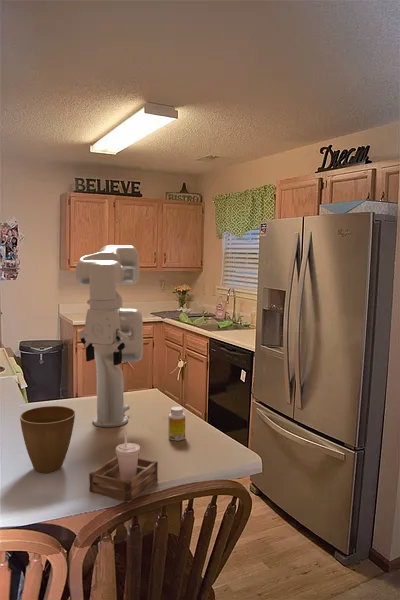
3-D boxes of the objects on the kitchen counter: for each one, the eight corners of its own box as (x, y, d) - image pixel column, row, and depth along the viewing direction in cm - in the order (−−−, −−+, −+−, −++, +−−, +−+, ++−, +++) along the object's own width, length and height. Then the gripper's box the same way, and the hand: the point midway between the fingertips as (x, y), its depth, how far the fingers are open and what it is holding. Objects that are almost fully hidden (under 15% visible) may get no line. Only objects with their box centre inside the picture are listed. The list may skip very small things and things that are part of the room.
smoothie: (116, 477, 129) (116, 427, 128) (140, 476, 130) (140, 426, 129) (114, 489, 123) (114, 436, 122) (140, 488, 124) (139, 435, 122)
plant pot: (23, 484, 127) (21, 425, 125) (19, 462, 140) (18, 408, 139) (80, 474, 133) (79, 418, 131) (71, 454, 146) (71, 403, 145)
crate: (120, 470, 136) (120, 453, 135) (157, 478, 130) (157, 461, 130) (89, 492, 123) (89, 473, 123) (128, 502, 118) (128, 483, 117)
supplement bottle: (187, 440, 158) (187, 410, 157) (171, 442, 156) (171, 411, 155) (182, 434, 163) (182, 405, 162) (166, 436, 161) (166, 406, 160)
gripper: (70, 304, 140) (72, 361, 142) (120, 308, 132) (121, 369, 135) (87, 301, 146) (87, 356, 149) (135, 305, 139) (135, 362, 141)
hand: (103, 362), depth 142 cm, fingers open, 9 cm apart
